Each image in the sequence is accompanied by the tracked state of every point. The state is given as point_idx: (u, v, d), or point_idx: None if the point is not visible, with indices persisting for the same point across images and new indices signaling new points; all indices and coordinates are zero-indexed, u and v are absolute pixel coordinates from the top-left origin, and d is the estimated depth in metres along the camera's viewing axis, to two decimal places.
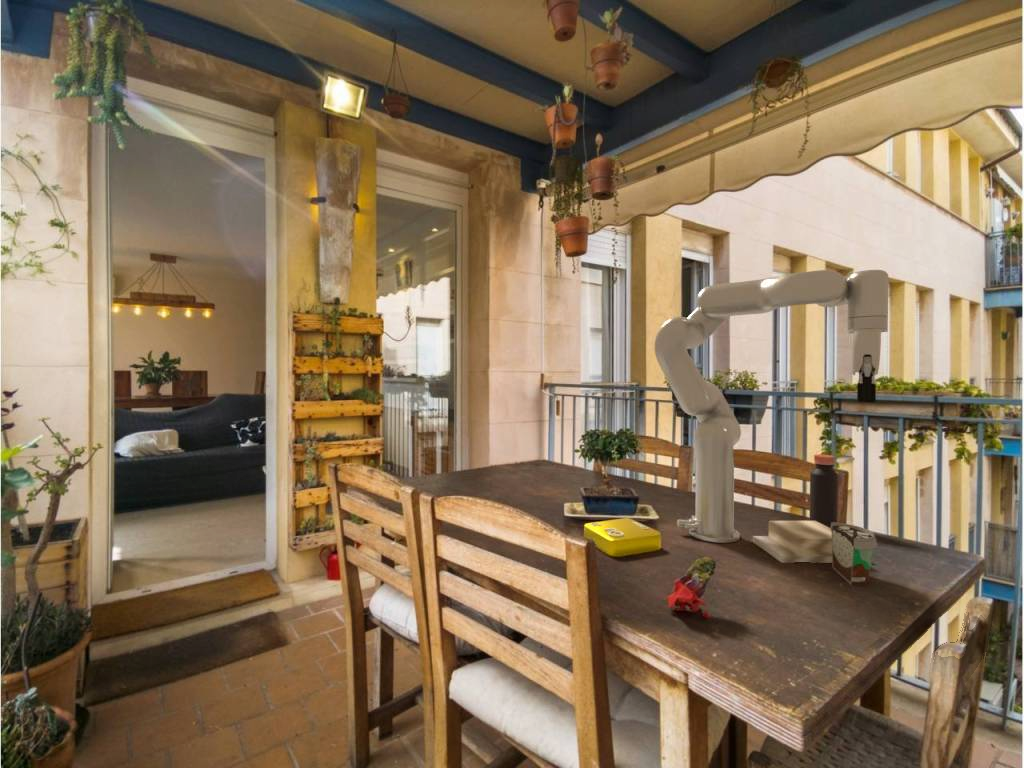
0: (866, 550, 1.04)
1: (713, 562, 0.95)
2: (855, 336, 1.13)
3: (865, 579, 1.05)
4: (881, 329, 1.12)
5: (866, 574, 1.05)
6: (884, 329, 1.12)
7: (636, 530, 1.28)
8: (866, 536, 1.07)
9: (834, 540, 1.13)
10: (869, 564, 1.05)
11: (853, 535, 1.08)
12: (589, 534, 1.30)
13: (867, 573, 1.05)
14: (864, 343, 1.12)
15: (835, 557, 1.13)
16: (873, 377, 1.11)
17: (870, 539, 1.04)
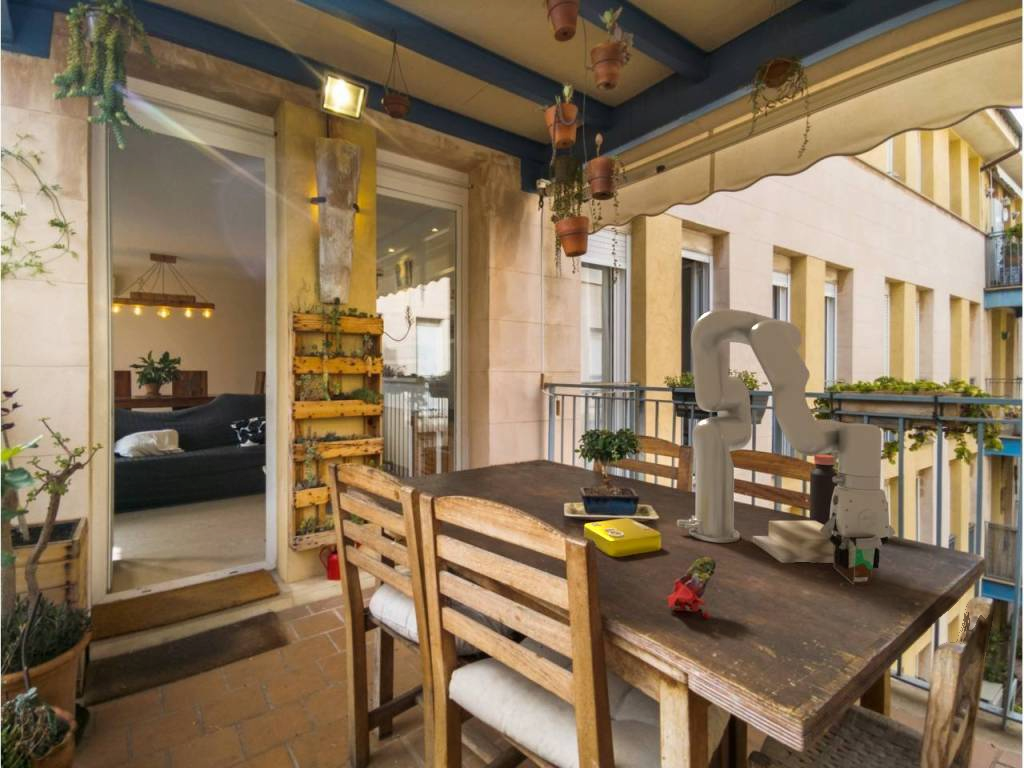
0: (868, 550, 1.04)
1: (713, 562, 0.95)
2: (885, 496, 1.06)
3: (867, 579, 1.05)
4: None
5: (868, 574, 1.05)
6: None
7: (636, 530, 1.28)
8: None
9: None
10: (871, 564, 1.05)
11: None
12: (590, 534, 1.30)
13: (869, 573, 1.05)
14: None
15: None
16: None
17: (872, 539, 1.04)
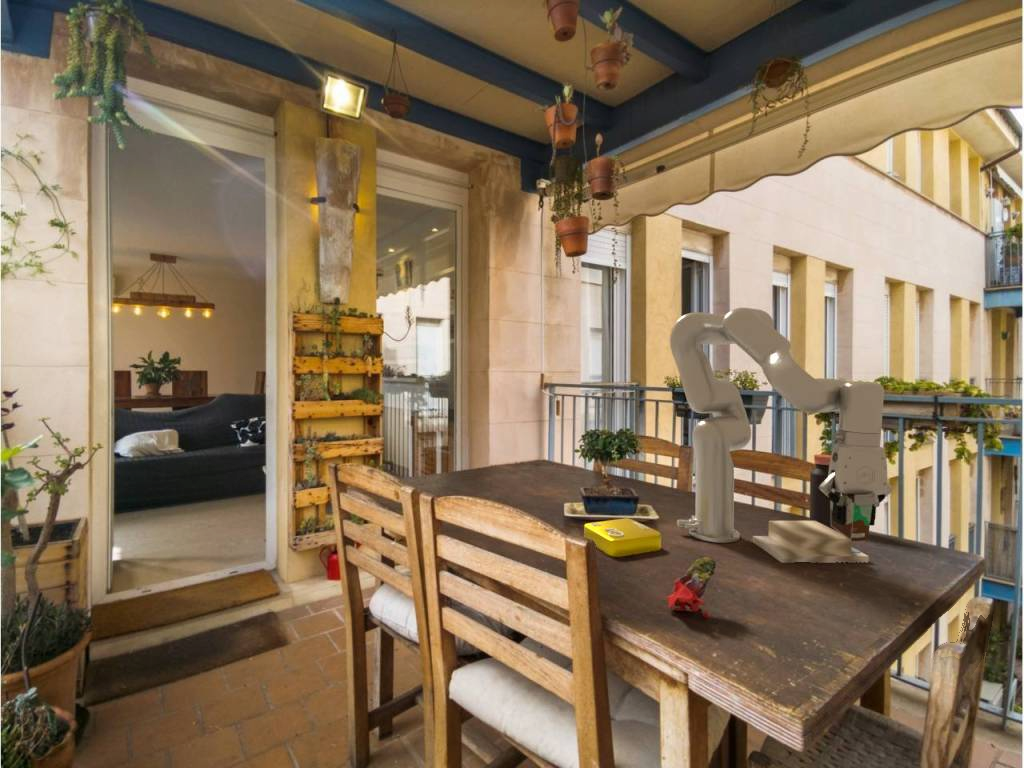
0: (866, 506, 1.04)
1: (713, 562, 0.95)
2: None
3: (865, 535, 1.06)
4: None
5: (865, 530, 1.05)
6: None
7: (636, 530, 1.28)
8: None
9: None
10: (868, 520, 1.06)
11: None
12: (590, 534, 1.30)
13: (866, 529, 1.06)
14: None
15: None
16: None
17: (870, 495, 1.05)
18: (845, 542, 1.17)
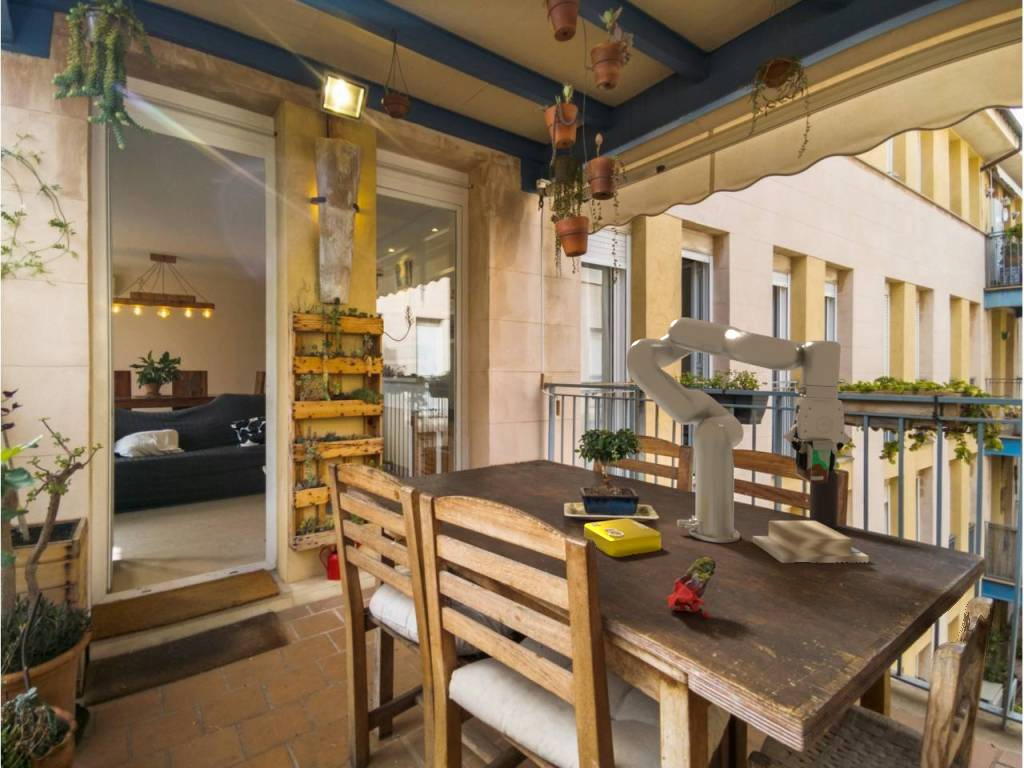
0: (824, 451, 1.16)
1: (713, 562, 0.95)
2: None
3: (823, 478, 1.17)
4: None
5: (824, 473, 1.17)
6: None
7: (636, 530, 1.28)
8: None
9: None
10: (827, 465, 1.17)
11: None
12: (590, 534, 1.30)
13: (825, 473, 1.17)
14: None
15: None
16: None
17: (828, 441, 1.16)
18: (845, 542, 1.17)
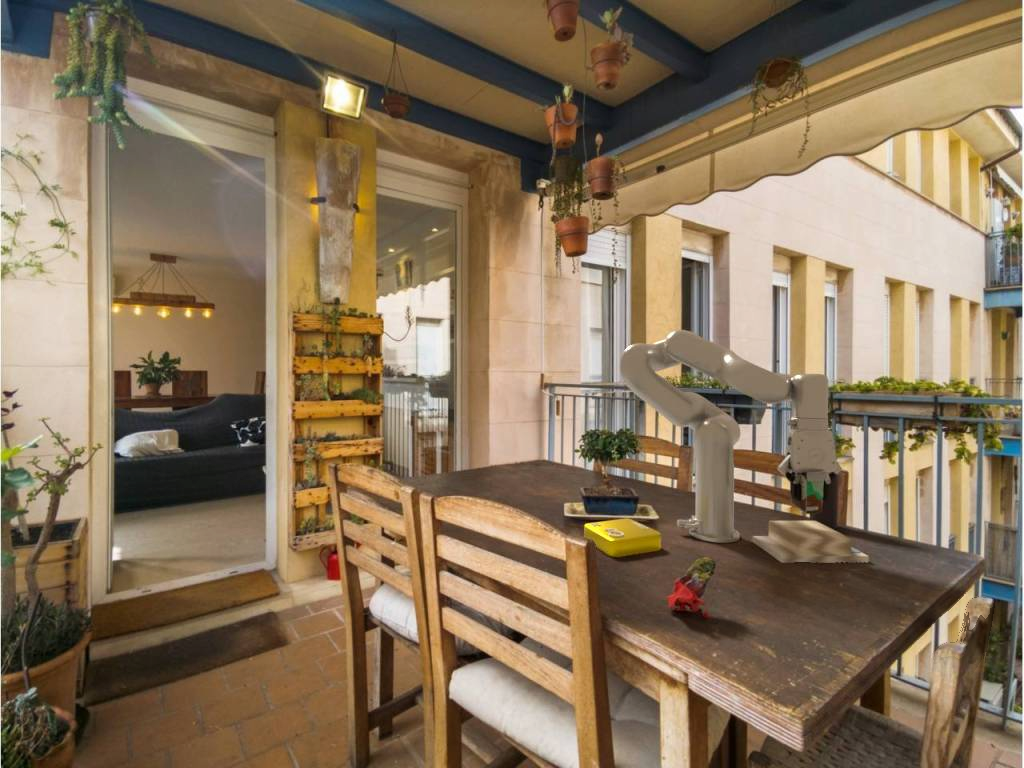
0: (817, 482, 1.19)
1: (713, 562, 0.95)
2: (832, 436, 1.21)
3: (818, 508, 1.20)
4: None
5: (818, 503, 1.20)
6: None
7: (636, 530, 1.28)
8: None
9: None
10: (821, 495, 1.20)
11: None
12: (590, 534, 1.30)
13: (819, 503, 1.20)
14: None
15: None
16: None
17: (820, 472, 1.19)
18: (845, 542, 1.17)
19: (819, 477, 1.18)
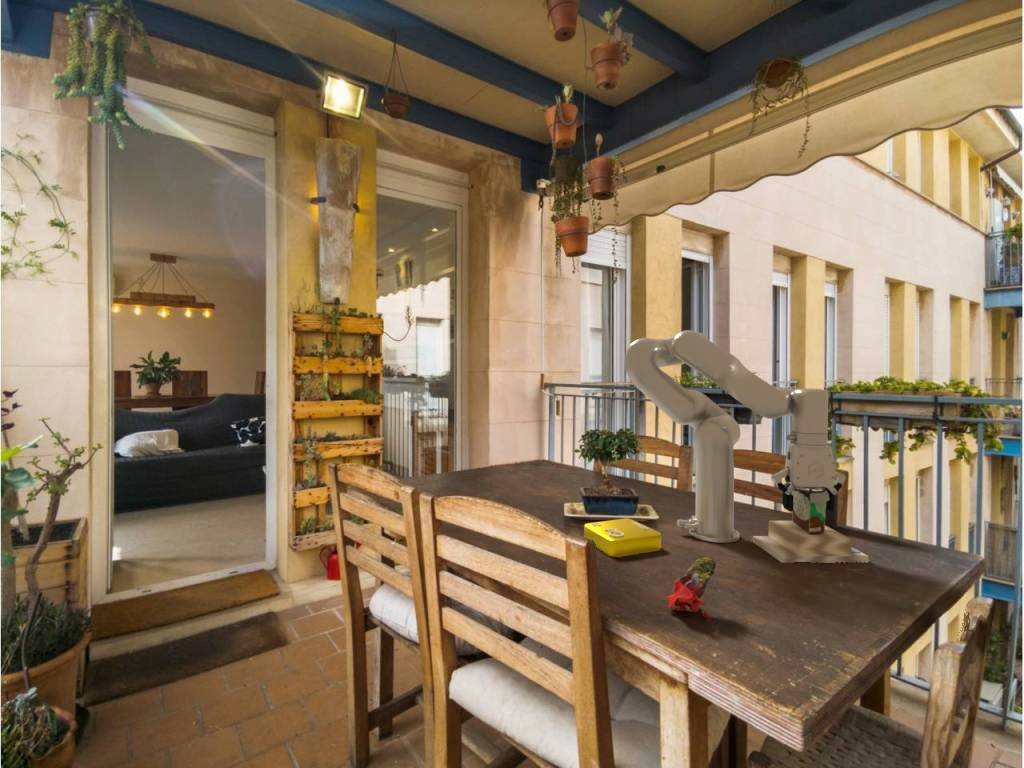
0: (820, 503, 1.19)
1: (713, 562, 0.95)
2: (831, 451, 1.21)
3: (820, 529, 1.20)
4: None
5: (821, 524, 1.20)
6: None
7: (636, 530, 1.28)
8: (820, 492, 1.22)
9: (793, 498, 1.28)
10: (823, 516, 1.20)
11: (809, 492, 1.23)
12: (590, 534, 1.30)
13: (822, 524, 1.20)
14: None
15: (795, 513, 1.27)
16: None
17: (823, 493, 1.19)
18: (845, 542, 1.17)
19: (822, 498, 1.18)
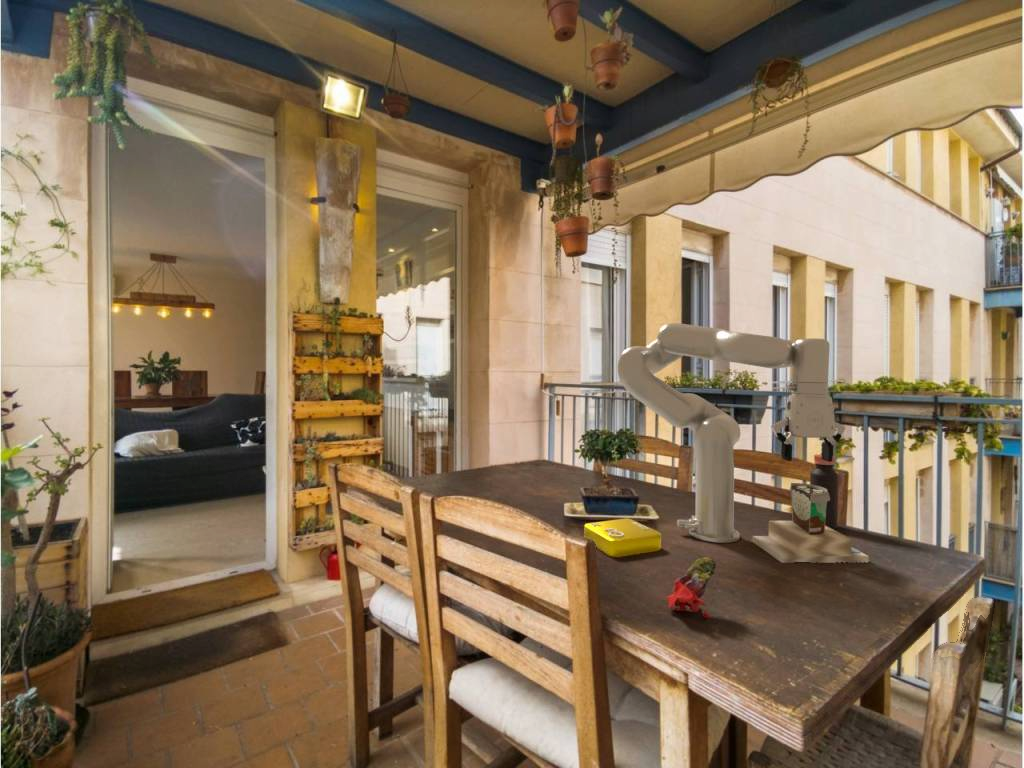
0: (821, 503, 1.19)
1: (713, 562, 0.95)
2: (831, 401, 1.21)
3: (821, 529, 1.20)
4: None
5: (821, 525, 1.20)
6: None
7: (636, 530, 1.28)
8: (821, 492, 1.22)
9: (793, 498, 1.28)
10: (824, 516, 1.20)
11: (810, 492, 1.23)
12: (590, 535, 1.30)
13: (822, 524, 1.20)
14: None
15: (795, 513, 1.27)
16: None
17: (824, 494, 1.19)
18: (845, 542, 1.17)
19: (823, 499, 1.18)
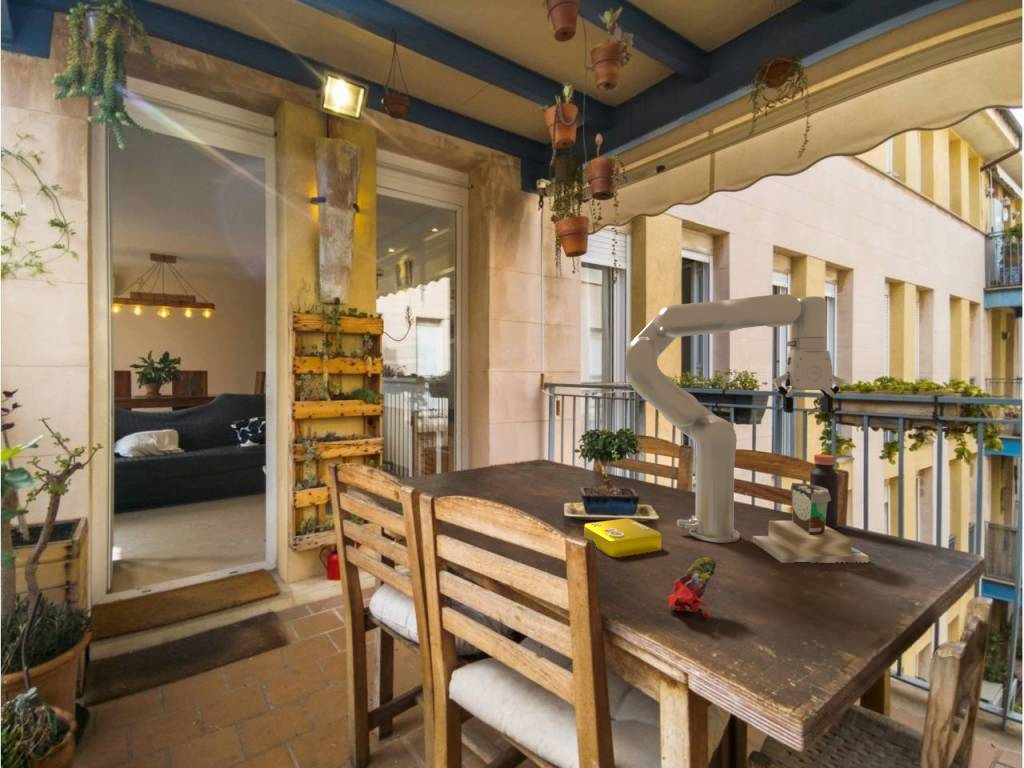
0: (822, 504, 1.19)
1: (713, 562, 0.95)
2: (829, 355, 1.28)
3: (821, 529, 1.20)
4: None
5: (821, 525, 1.20)
6: None
7: (636, 530, 1.28)
8: (821, 492, 1.22)
9: (794, 498, 1.28)
10: (824, 516, 1.20)
11: (810, 492, 1.23)
12: (590, 535, 1.29)
13: (822, 524, 1.20)
14: None
15: (795, 513, 1.27)
16: None
17: (825, 494, 1.19)
18: (845, 542, 1.17)
19: (824, 499, 1.18)
